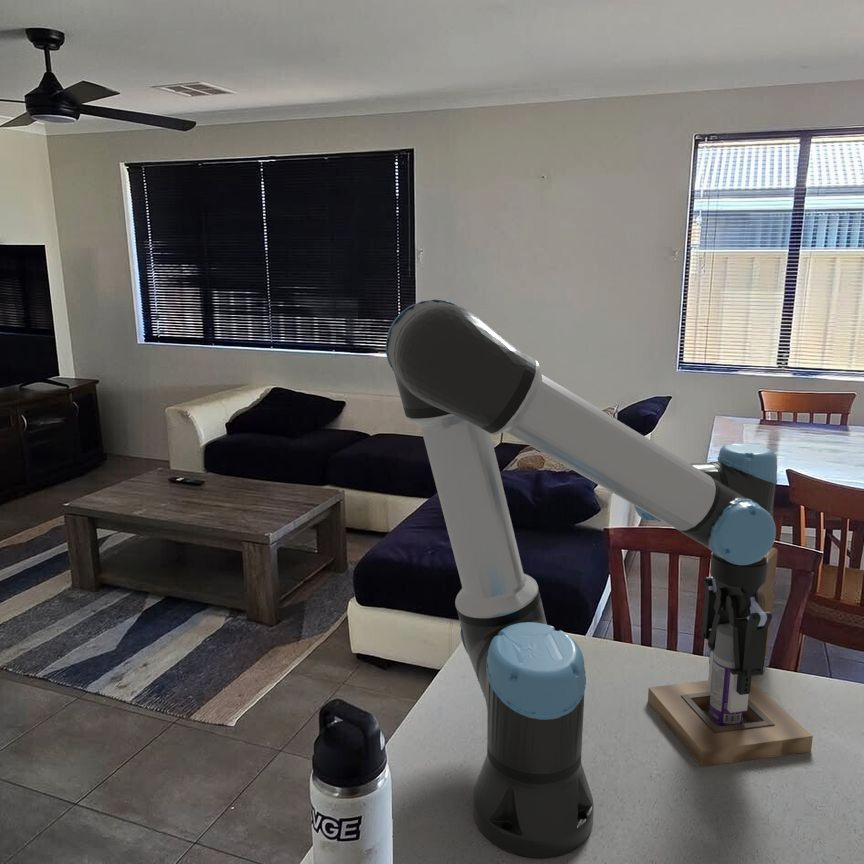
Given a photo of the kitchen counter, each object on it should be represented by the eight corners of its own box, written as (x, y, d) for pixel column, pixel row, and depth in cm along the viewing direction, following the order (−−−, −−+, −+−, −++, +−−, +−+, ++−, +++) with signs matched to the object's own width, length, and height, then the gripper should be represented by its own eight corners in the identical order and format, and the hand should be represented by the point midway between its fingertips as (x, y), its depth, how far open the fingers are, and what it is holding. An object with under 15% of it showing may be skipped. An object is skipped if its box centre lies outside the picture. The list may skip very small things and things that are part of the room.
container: (744, 718, 113) (753, 627, 110) (738, 734, 110) (747, 641, 106) (712, 709, 116) (720, 619, 112) (705, 724, 112) (712, 632, 109)
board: (700, 766, 104) (702, 749, 103) (647, 701, 119) (648, 686, 118) (810, 751, 107) (812, 734, 106) (745, 689, 122) (746, 674, 121)
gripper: (804, 575, 99) (787, 732, 104) (728, 529, 116) (717, 666, 121) (752, 580, 97) (737, 739, 103) (684, 533, 114) (674, 671, 120)
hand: (726, 699), depth 112 cm, fingers closed on container, 5 cm apart
